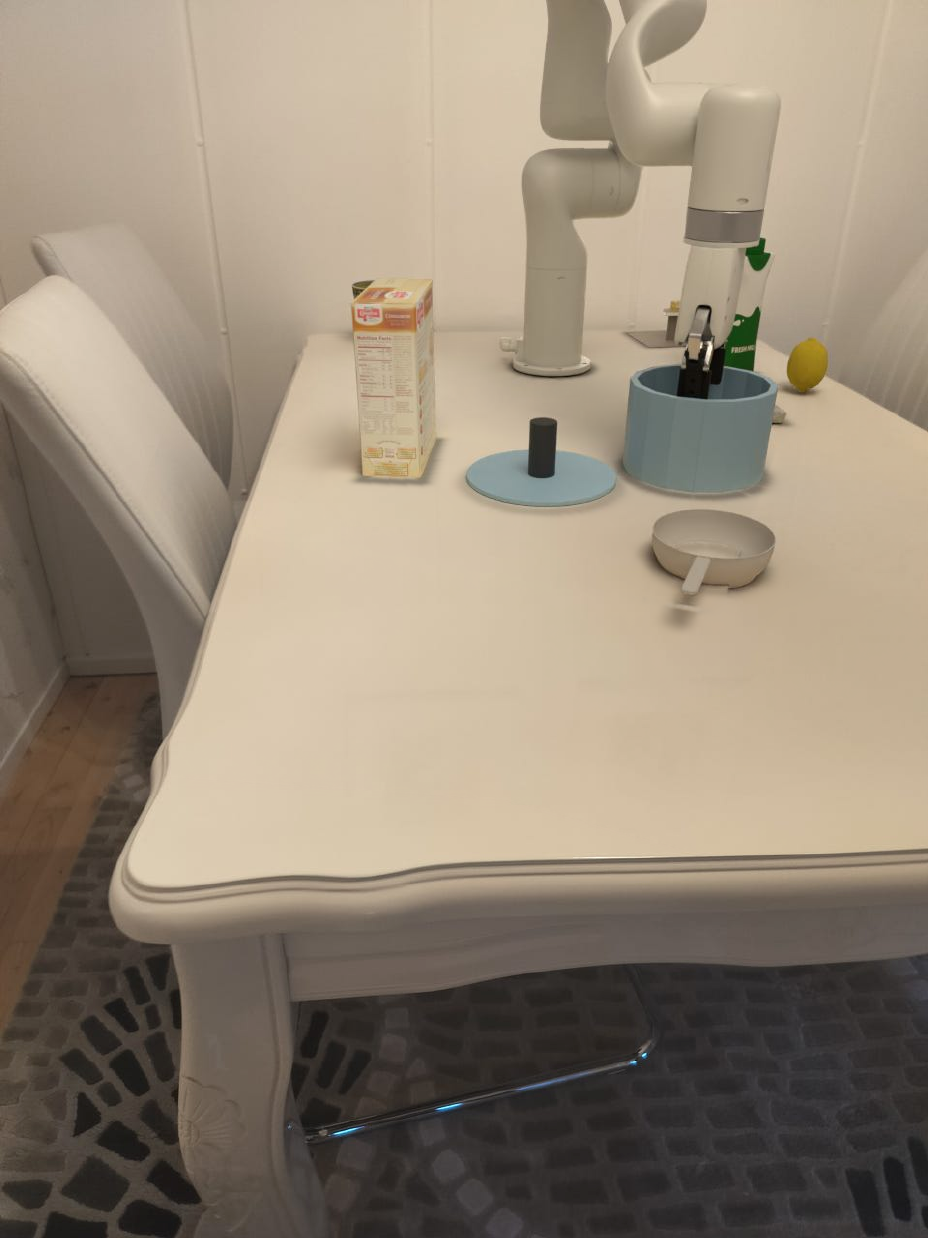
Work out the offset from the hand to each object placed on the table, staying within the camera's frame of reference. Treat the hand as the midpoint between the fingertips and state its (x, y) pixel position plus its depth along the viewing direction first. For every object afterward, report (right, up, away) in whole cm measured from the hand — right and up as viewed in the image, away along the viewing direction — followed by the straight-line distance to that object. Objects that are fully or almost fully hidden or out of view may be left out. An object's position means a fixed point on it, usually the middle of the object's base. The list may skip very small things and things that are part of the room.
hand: (699, 394), depth 99 cm
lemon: (+24, +8, +33) cm, 42 cm away
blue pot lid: (-17, -9, +1) cm, 20 cm away
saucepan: (-5, -22, -20) cm, 30 cm away
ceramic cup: (-40, +25, +61) cm, 77 cm away
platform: (+15, +27, +65) cm, 72 cm away
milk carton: (+15, +15, +44) cm, 49 cm away
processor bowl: (0, -8, +4) cm, 9 cm away
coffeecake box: (-34, -6, +8) cm, 35 cm away
